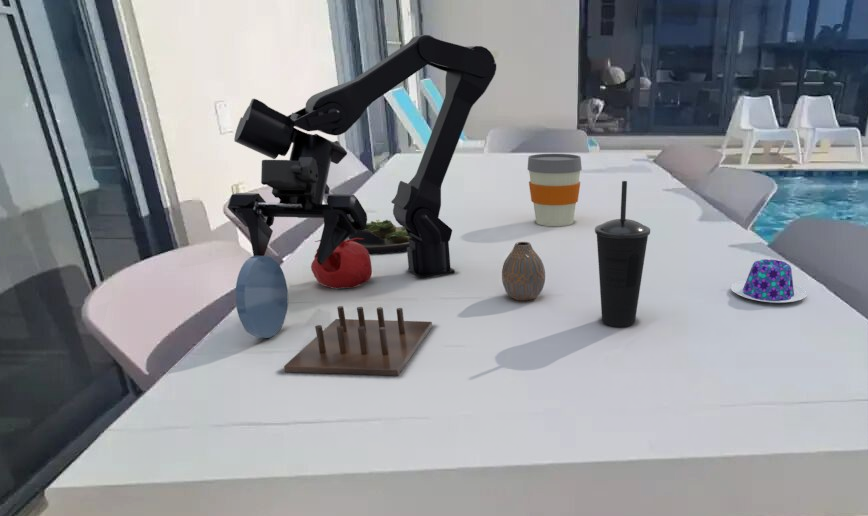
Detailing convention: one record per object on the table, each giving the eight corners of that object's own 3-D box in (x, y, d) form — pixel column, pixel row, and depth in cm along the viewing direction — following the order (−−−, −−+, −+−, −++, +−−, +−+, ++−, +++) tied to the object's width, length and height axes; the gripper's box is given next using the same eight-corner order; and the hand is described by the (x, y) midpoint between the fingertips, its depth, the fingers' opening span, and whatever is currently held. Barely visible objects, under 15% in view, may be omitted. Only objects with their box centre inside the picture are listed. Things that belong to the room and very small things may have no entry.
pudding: (716, 294, 104) (719, 263, 102) (752, 278, 112) (756, 249, 110) (785, 312, 97) (790, 279, 95) (818, 294, 105) (823, 263, 103)
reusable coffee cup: (523, 226, 148) (521, 159, 142) (534, 215, 159) (533, 152, 153) (576, 229, 146) (577, 161, 140) (584, 217, 157) (585, 154, 151)
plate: (286, 314, 93) (268, 243, 88) (294, 314, 93) (276, 243, 88) (249, 352, 84) (226, 275, 78) (258, 353, 84) (235, 275, 78)
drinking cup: (649, 315, 96) (658, 178, 87) (638, 333, 89) (646, 187, 81) (600, 309, 98) (604, 175, 89) (585, 326, 91) (588, 184, 83)
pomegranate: (357, 271, 115) (350, 219, 112) (385, 283, 109) (379, 229, 105) (303, 282, 109) (294, 228, 105) (330, 296, 103) (321, 239, 99)
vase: (552, 293, 105) (552, 240, 101) (533, 306, 99) (532, 251, 95) (515, 287, 107) (514, 236, 104) (494, 300, 101) (492, 246, 98)
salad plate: (340, 233, 141) (337, 212, 139) (423, 229, 145) (421, 209, 143) (331, 256, 124) (327, 233, 122) (424, 251, 128) (422, 228, 126)
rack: (336, 323, 92) (332, 295, 90) (432, 326, 91) (429, 298, 89) (284, 372, 77) (278, 339, 76) (398, 375, 77) (394, 343, 75)
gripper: (219, 135, 90) (192, 231, 84) (349, 136, 89) (329, 233, 83) (258, 182, 100) (236, 271, 95) (374, 184, 99) (359, 273, 94)
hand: (288, 262), depth 91 cm, fingers open, 9 cm apart
